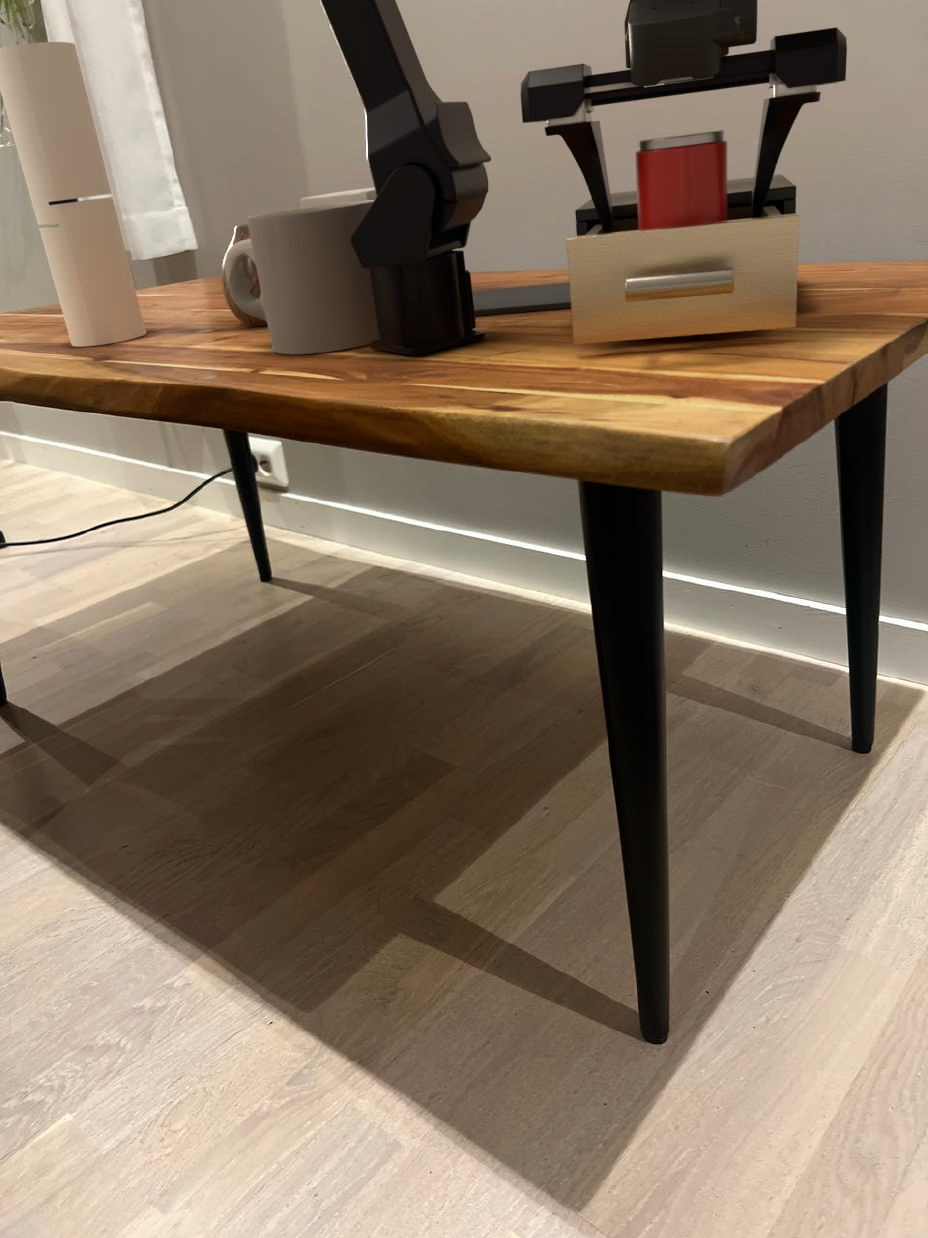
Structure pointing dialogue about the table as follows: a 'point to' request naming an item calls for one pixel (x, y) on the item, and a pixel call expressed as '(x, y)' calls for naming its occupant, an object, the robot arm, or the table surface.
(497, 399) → the table surface
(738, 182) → the cabinet
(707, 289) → the drawer
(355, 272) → the coffee mug
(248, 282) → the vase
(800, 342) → the table surface
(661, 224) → the can
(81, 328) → the cylindrical container
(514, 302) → the mat
